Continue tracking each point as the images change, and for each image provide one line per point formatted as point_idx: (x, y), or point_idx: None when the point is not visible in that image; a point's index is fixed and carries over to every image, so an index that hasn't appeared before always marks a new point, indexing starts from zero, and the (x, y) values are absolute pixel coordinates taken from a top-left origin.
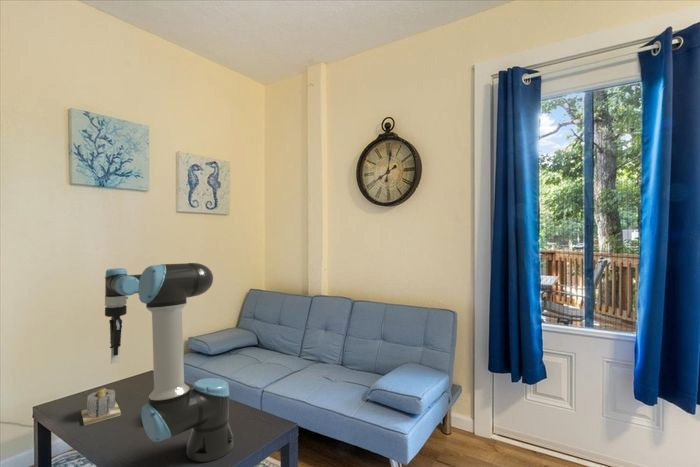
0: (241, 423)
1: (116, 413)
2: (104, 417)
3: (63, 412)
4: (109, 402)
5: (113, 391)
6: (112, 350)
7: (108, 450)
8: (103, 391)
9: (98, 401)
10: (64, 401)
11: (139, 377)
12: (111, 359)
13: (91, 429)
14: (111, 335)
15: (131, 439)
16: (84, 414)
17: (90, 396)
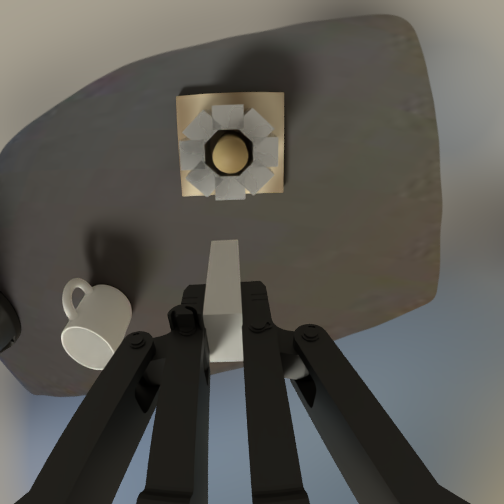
0: (48, 367)
1: (183, 184)
2: (179, 150)
3: (328, 53)
4: (188, 173)
5: (232, 195)
6: (206, 302)
7: (23, 164)
8: (214, 161)
9: (186, 139)
10: (410, 73)
11: (428, 271)
12: (211, 255)
13: (139, 117)
14: (274, 419)
15: (43, 208)
16: (241, 97)
17: (235, 114)
